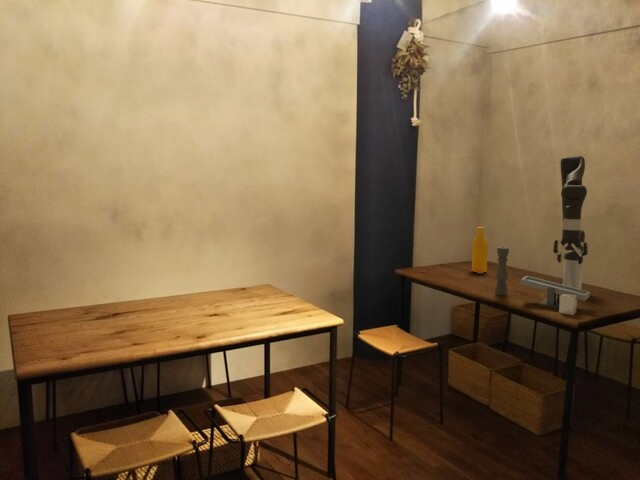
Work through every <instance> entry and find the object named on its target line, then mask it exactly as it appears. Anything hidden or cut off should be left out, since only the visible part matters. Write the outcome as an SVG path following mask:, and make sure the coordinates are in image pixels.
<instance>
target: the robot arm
mask: <svg viewBox="0 0 640 480" xmlns="http://www.w3.org/2000/svg"><path fill="white" fill-rule="evenodd" d="M585 170H586V160H585V158H584V156H583V155H571V156H570V155H569V156H563V157H561V159H560V176H561V192H560V196H561V210H562V235H561V240H558V239H556V240H554V242H553V250H552V251H553V253H554V254H556V255H557V258H556V259H557V260H556V261H557V262H558V263H559V264H560V263H562V259H563V271H562V273H563V274H562V285H565V286H569V287H573V288H577V289H581V290H582V282H583V281H582V278H583V277H582V276H583V262H584V257H586V256H587V255H588V254H589V252H588V247H589V245H588V241H585V240H586V233H585V230H583V229H582V210H583V204H584V202H585V200H586V196H587V194H588V189H587V188H586V186H585V185H583V177H584V174H585ZM559 245H561V246H562V247H561V248H560V249H559ZM565 250H566V251H569V252H566V253H564V255H563V258H562V253H563V252H564V251H565Z"/></svg>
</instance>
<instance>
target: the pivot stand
mask: <svg viewBox="0 0 640 480" xmlns="http://www.w3.org/2000/svg"><path fill="white" fill-rule="evenodd" d="M554 291H555V289H552V288H548V289H547V291H546V292H547V293H546V297H545V298H544V299H543V300H541V301H540V302H539V303H538V306H540V307H545V308H552V309H558V310H559V305H560V296H561V295H560V294H556V293H554Z"/></svg>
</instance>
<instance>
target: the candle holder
mask: <svg viewBox="0 0 640 480" xmlns="http://www.w3.org/2000/svg"><path fill="white" fill-rule="evenodd" d="M496 249H497V251H496V252H497V256H498V258H497V259H496V261H498V267H497V271H496V275H495V279H496V280H497V283H496V284H495V288H494V290H495V292H494V293H495V294H494V295H498V296H507V295H508V284H507V280H508V278H509V275H508V270H507V262H508V261H509V258H507V257H508V256H509V253H510V252H509V251H510V249H509V247H508V246H507V247H506V246H497V248H496Z"/></svg>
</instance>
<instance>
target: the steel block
mask: <svg viewBox="0 0 640 480" xmlns="http://www.w3.org/2000/svg"><path fill="white" fill-rule="evenodd" d="M577 303H578V299H577V295H570V294H562V295H560V305H559V309H558V313H559V314H564V315H570V316H574V315H575V314H576V313H577V305H578V304H577Z"/></svg>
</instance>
